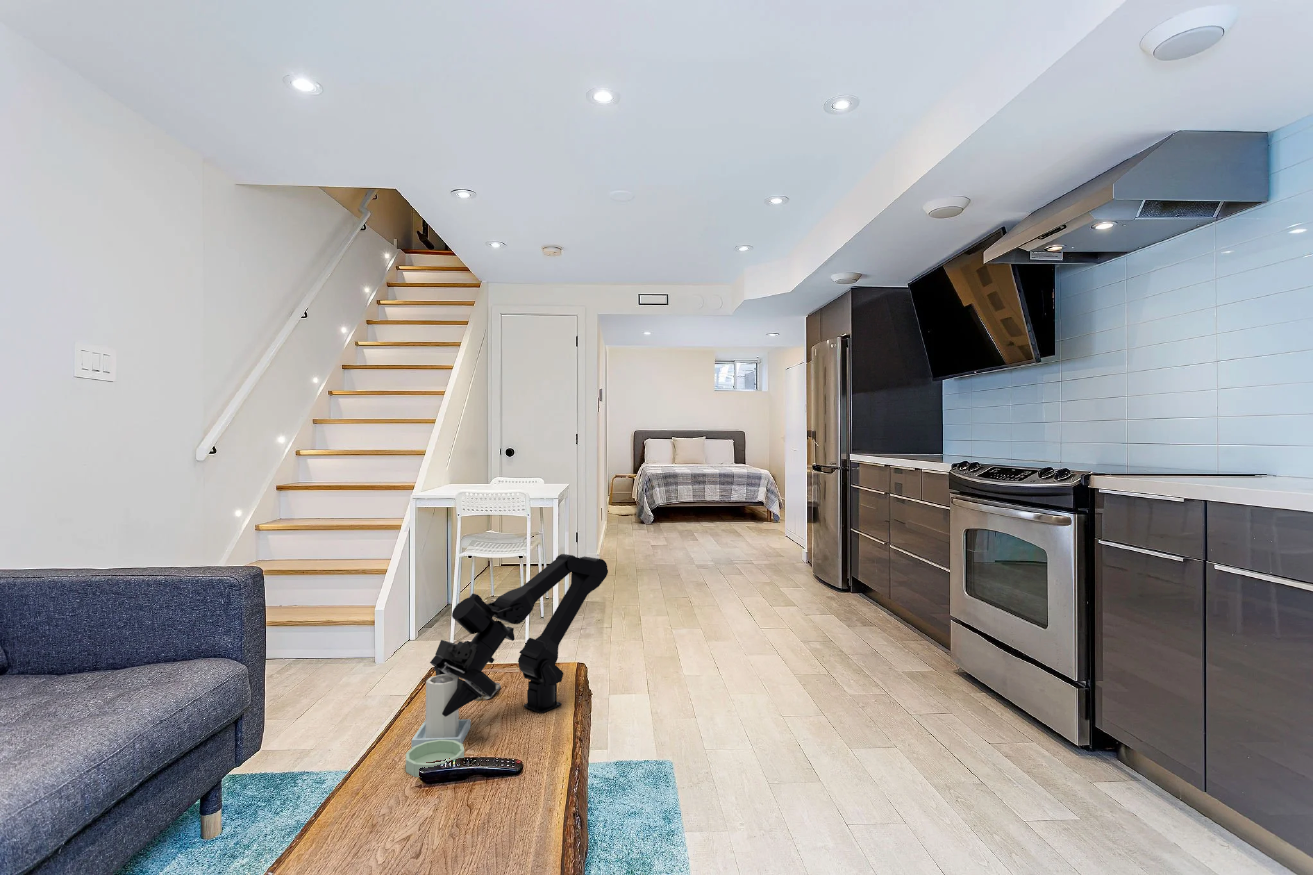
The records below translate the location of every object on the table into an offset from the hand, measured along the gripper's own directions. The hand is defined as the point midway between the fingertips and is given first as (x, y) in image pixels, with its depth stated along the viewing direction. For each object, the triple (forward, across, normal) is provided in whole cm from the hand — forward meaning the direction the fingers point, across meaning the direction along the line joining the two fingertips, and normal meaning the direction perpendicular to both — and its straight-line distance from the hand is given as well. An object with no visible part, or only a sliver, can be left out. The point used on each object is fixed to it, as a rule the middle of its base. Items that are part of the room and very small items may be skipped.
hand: (436, 711), depth 133 cm
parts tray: (+4, 0, +6) cm, 7 cm away
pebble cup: (+3, 0, +5) cm, 6 cm away
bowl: (+8, +10, +1) cm, 13 cm away
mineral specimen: (-10, -18, +20) cm, 29 cm away
